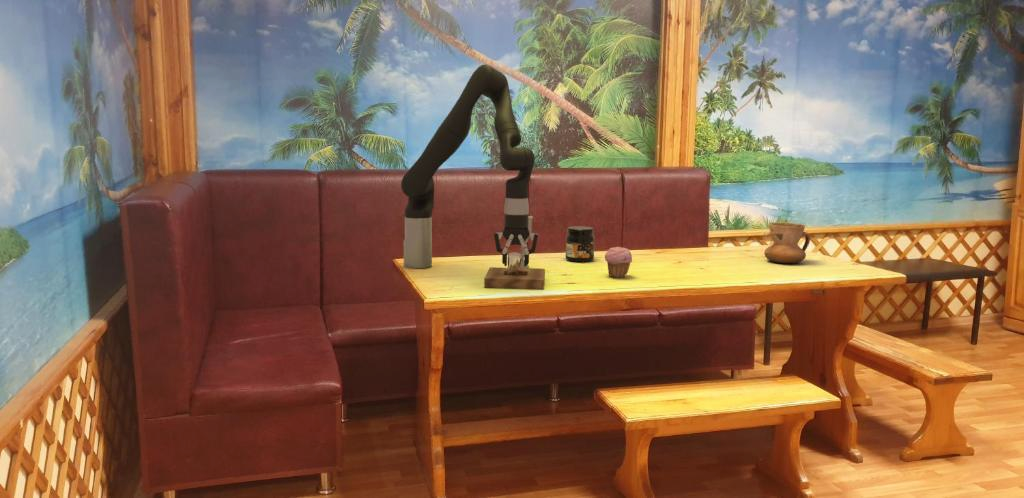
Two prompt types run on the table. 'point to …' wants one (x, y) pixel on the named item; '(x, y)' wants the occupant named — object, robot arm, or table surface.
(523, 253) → the chalice
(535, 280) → the well block
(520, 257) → the milkshake
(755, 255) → the table surface
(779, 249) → the ceramic jug
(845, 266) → the table surface
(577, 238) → the supplement container
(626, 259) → the cupcake
